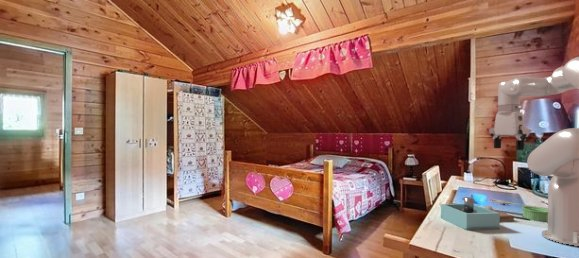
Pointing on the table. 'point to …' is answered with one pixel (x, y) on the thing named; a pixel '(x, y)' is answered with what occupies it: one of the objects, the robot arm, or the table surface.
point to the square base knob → (468, 205)
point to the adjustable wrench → (510, 203)
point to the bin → (470, 217)
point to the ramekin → (535, 213)
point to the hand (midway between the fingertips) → (508, 149)
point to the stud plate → (502, 215)
